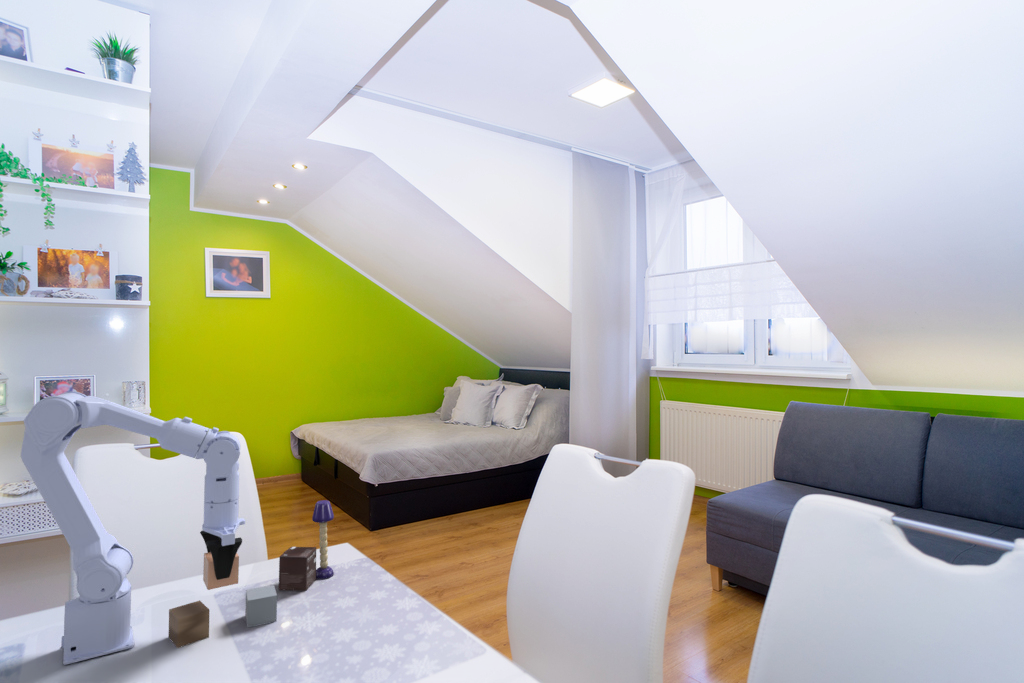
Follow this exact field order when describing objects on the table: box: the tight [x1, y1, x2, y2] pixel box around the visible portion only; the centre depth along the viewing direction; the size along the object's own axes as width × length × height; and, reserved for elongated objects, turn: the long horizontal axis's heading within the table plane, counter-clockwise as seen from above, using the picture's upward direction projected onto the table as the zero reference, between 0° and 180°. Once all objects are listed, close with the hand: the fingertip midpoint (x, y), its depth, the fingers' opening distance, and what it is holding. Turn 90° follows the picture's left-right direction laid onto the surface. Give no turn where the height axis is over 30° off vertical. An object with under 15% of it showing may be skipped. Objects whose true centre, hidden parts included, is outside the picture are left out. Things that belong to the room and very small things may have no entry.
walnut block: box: [168, 600, 210, 649], centre depth 100 cm, size 5×5×5 cm
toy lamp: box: [311, 499, 335, 580], centre depth 127 cm, size 5×5×17 cm
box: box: [278, 546, 317, 592], centre depth 122 cm, size 6×6×7 cm
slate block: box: [244, 584, 278, 628], centre depth 107 cm, size 5×5×5 cm
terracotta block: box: [202, 552, 240, 591], centre depth 104 cm, size 5×5×5 cm
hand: (220, 572), depth 104 cm, fingers closed on terracotta block, 5 cm apart
